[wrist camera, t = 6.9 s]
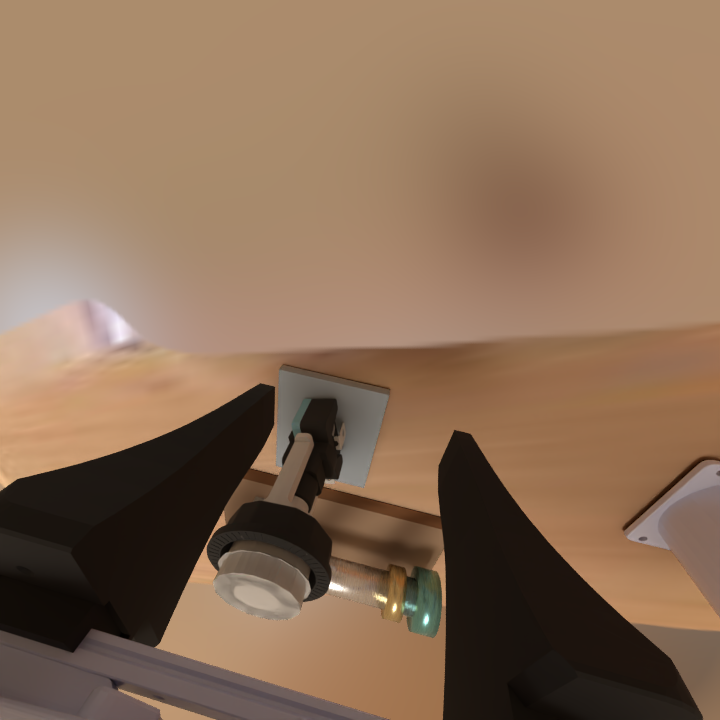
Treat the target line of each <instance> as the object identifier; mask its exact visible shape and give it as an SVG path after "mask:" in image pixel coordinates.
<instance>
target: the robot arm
mask: <svg viewBox="0 0 720 720" xmlns="http://www.w3.org/2000/svg"><path fill="white" fill-rule="evenodd" d="M274 406H275V387H273V386H269V385H265V384H261V383H260V384H258V385H257V386H255V387H253V388H252V389H250V390H248V391H247V392H245V393H243V394H242V395H240V396H238V397H237V398H235V399H233V400H232V401H230V402H228V403H226V404H225V405H223V406H221V407H219V408H218V409H216V410H214V411H212V412H210V413H208V414H206V415H205V416H203V417H201V418H199V419H197V420H195V421H193V422H191V423H189V424H187V425H185V426H183V427H181V428H178V429H176V430H174V431H172V432H169V433H167V434H165V435H162V436H160V437H158V438H155V439H153V440H150V441H147V442H144V443H142V444H139V445H136V446H133V447H131V448H128V449H125V450H122V451H120V452H117V453H113V454H110V455H107V456H104V457H101V458H97V459H94V460H91V461H87V462H84V463H80V464H77V465H73V466H69V467H65V468H61V469H57V470H53V471H49V472H45V473H41V474H37V475H33V476H29V477H24V478H20V479H17V480H16V481H14V482H13V483H11V484H10V485H8V486H7V487H6V488H4V489H3V490H1V491H0V720H162V718H161V717H160V710H159V709H157V708H155V707H153V706H151V705H148V704H146V703H144V702H142V701H140V700H137V699H135V698H133V697H131V696H128V695H126V694H124V693H122V692H120V691H118V688H119V689H122V690H125V691H128V692H131V693H135V694H138V695H141V696H144V697H147V698H150V699H153V700H157V701H160V702H163V703H166V704H169V705H172V706H176V707H179V708H182V709H185V710H188V711H191V712H195V713H198V714H201V715H204V716H207V717H210V718H213V719H216V720H389V719H386V718H382V717H379V716H376V715H373V714H369V713H366V712H363V711H360V710H356V709H353V708H350V707H346V706H343V705H340V704H337V703H333V702H330V701H327V700H324V699H320V698H316V697H314V696H310V695H307V694H304V693H300V692H297V691H294V690H291V689H288V688H284V687H281V686H278V685H275V684H271V683H268V682H265V681H261V680H258V679H255V678H251V677H248V676H245V675H241V674H238V673H235V672H232V671H229V670H225V669H222V668H219V667H216V666H212V665H209V664H206V663H203V662H199V661H196V660H193V659H189V658H186V657H183V656H180V655H176V654H173V653H170V652H167V651H163V650H160V649H157V648H154V647H156V646H157V645H158V644H159V643H160V642H161V639H162V637H163V635H164V632H165V630H166V628H167V626H168V623H169V621H170V619H171V617H172V614H173V612H174V610H175V608H176V606H177V603H178V601H179V599H180V597H181V595H182V592H183V590H184V588H185V586H186V584H187V582H188V580H189V578H190V576H191V573H192V571H193V569H194V567H195V565H196V563H197V561H198V559H199V557H200V555H201V553H202V551H203V549H204V547H205V545H206V543H207V541H208V539H209V537H210V535H211V533H212V531H213V529H214V527H215V525H216V523H217V521H218V520H219V518H220V516H221V514H222V512H223V510H224V508H225V506H226V505H227V503H228V501H229V500H230V498H231V496H232V495H233V493H234V492H235V490H236V489H237V487H238V486H239V484H240V482H241V481H242V479H243V478H244V476H245V475H246V473H247V472H248V470H249V469H250V467H251V466H252V464H253V463H254V461H255V459H256V458H257V456H258V455H259V453H260V452H261V450H262V448H263V447H264V445H265V443H266V441H267V439H268V437H269V435H270V433H271V430H272V428H273V426H274ZM438 495H439V505H440V515H441V524H442V533H443V542H444V552H445V566H446V651H445V685H444V711H443V720H703V716H702V714H701V712H700V711H699V709H698V707H697V705H696V703H695V702H694V700H693V698H692V696H691V694H690V692H689V690H688V689H687V687H686V685H685V683H684V681H683V680H682V678H681V676H680V674H679V672H678V670H677V669H676V667H675V665H674V664H673V662H672V660H671V659H670V658H669V657H668V656H667V655H666V654H665V653H664V652H662V651H661V650H660V649H659V648H658V647H657V646H655V645H654V644H653V643H652V642H651V641H650V640H649V639H648V638H646V637H645V636H644V635H643V634H642V633H640V632H639V631H638V630H637V629H636V628H635V627H634V626H633V625H631V624H630V623H629V622H628V621H627V620H626V619H625V618H623V617H622V616H621V615H620V614H619V613H618V612H617V611H616V610H615V609H614V608H613V607H612V606H611V605H610V604H608V603H607V602H606V601H605V600H604V599H603V598H602V597H601V596H600V595H599V594H598V593H597V592H596V591H595V590H594V589H593V588H592V587H591V586H590V585H589V584H588V583H587V582H586V581H585V580H584V579H583V578H582V577H581V576H580V575H579V574H578V573H577V572H576V571H575V570H574V569H573V568H572V567H571V566H570V565H569V564H568V563H567V562H566V561H565V560H564V559H563V558H562V557H561V555H560V554H559V553H558V552H557V551H556V550H555V549H554V548H553V547H552V546H551V545H550V543H549V542H548V541H547V540H546V539H545V538H544V537H543V535H542V534H541V533H540V532H539V531H538V529H537V528H536V527H535V526H534V525H533V524H532V522H531V521H530V520H529V519H528V517H527V516H526V515H525V514H524V512H523V511H522V510H521V508H520V507H519V506H518V504H517V503H516V502H515V500H514V499H513V498H512V496H511V495H510V494H509V492H508V491H507V489H506V488H505V487H504V485H503V484H502V482H501V481H500V479H499V478H498V476H497V475H496V473H495V472H494V470H493V469H492V467H491V466H490V464H489V463H488V461H487V459H486V458H485V456H484V455H483V453H482V451H481V450H480V448H479V447H478V445H477V443H476V442H475V440H474V439H473V437H472V435H471V434H469V433H465V432H461V431H456V430H454V432H453V435H452V437H451V439H450V441H449V444H448V446H447V448H446V450H445V453H444V455H443V457H442V459H441V462H440V464H439V470H438ZM624 534H625V536H626V537H627V539H629V540H631V541H635V542H639V543H643V544H647V545H651V546H655V547H659V548H663V549H667V550H671V551H672V552H673V554H674V555H675V556H676V558H677V559H678V561H679V562H680V563H681V565H682V566H683V567H684V569H685V570H686V572H687V573H688V574H689V576H690V577H691V579H692V580H693V581H694V583H695V584H696V586H697V587H698V588H699V590H700V591H701V593H702V594H703V595H704V597H705V598H706V599H707V601H708V602H709V604H710V605H711V606H712V608H713V609H714V611H715V612H716V613H717V615H718V616H719V618H720V461H716V460H705V461H702V462H701V463H699V464H698V465H697V466H696V467H695V468H694V469H692V470H691V471H690V472H689V473H688V474H687V475H686V476H685V477H684V478H682V479H681V480H680V481H679V482H678V483H677V484H676V485H675V486H674V487H672V488H671V489H670V490H669V491H668V492H667V493H666V494H665V495H664V496H662V497H661V498H660V499H659V500H658V501H657V502H656V503H655V504H654V505H652V506H651V507H650V508H649V509H648V510H647V511H646V512H645V513H644V514H642V515H641V516H640V517H639V518H638V519H637V520H636V521H635V522H634V523H632V524H631V525H630V526H629V527H628V528H627V529H626V530H625V531H624Z"/></svg>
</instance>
